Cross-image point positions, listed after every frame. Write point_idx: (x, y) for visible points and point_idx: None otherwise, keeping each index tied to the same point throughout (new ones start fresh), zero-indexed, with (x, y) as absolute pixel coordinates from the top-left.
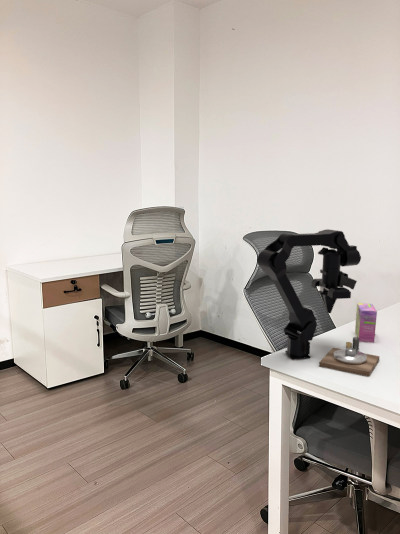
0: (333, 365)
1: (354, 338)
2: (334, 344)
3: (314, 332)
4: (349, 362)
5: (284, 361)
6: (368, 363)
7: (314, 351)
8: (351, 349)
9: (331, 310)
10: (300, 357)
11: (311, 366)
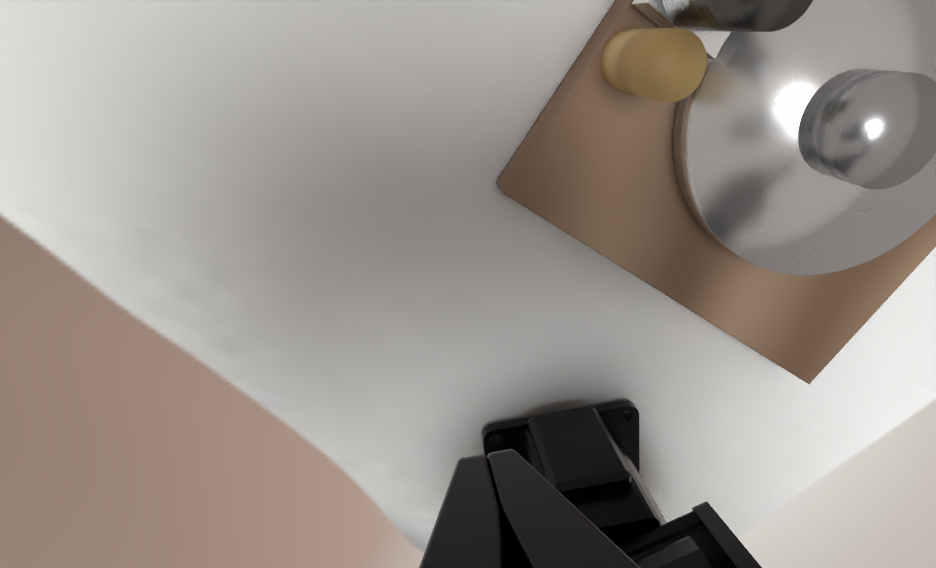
0: (884, 293)
1: (782, 14)
2: (265, 99)
3: (740, 542)
4: None
5: None
6: None
7: (478, 339)
8: (899, 123)
9: (547, 486)
10: (638, 469)
11: (772, 411)
